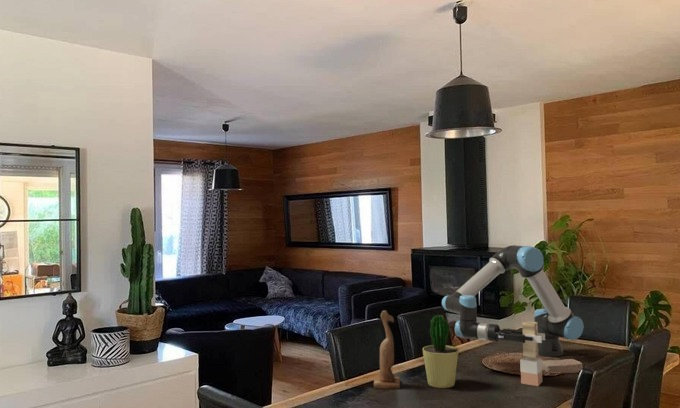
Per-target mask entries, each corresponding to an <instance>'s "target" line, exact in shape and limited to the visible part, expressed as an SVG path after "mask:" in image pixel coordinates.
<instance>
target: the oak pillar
mask: <svg viewBox="0 0 680 408" xmlns="http://www.w3.org/2000/svg"><path fill="white" fill-rule="evenodd" d="M521 326H522V329H521V330H523V335H535V336H538V327H537V322H535V321H534V322H533V321H524V322H522V325H521ZM522 356H523V357H525V356H526V357H533V358H538V356H539V355H538V343H537V342H528V341H525V343H523V342H522Z"/></svg>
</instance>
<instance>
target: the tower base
mask: <svg viewBox="0 0 680 408" xmlns="http://www.w3.org/2000/svg"><path fill="white" fill-rule="evenodd" d="M520 383H521V384H523V385H529V386H534V387H539V386H540V385H541V384H542V383H543V370H542V371H541V372H540V373H538V374H532V373H526V372H520Z"/></svg>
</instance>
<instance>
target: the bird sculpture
mask: <svg viewBox="0 0 680 408" xmlns="http://www.w3.org/2000/svg"><path fill="white" fill-rule="evenodd" d="M380 319H381V321H382V324H383V327H384V328H383V329H384V331H385V339H383V341H382V342H381V344H380V346H379V376H374V377H373V390H375V389H376V390H377V389H379V390H384V389H386V390H400V385H401V384H400V377H399V376H395V375H394V373H393V371H392V367H394V364H395V341H394V336H393V332H392V330H391V328H390V325H389V323H393V324H394V323H395V319H394V316H393V315H390V314H389V313H388V311H387V310H382V311H381V313H380Z"/></svg>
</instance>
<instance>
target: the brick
mask: <svg viewBox="0 0 680 408" xmlns="http://www.w3.org/2000/svg"><path fill="white" fill-rule="evenodd" d="M583 367H584V366H583V363H582V362H581V361H578V360H576V359H574V358H565V359H555V360H553V359H548V360H542V369H543V370H545V371H546V372H549V373H551V372H563V373H562V374H577V373H580V372H579V371H580V370H581V369H582V368H583ZM543 370H542V371H543ZM545 371H544V372H545ZM546 372H545V373H546Z"/></svg>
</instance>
